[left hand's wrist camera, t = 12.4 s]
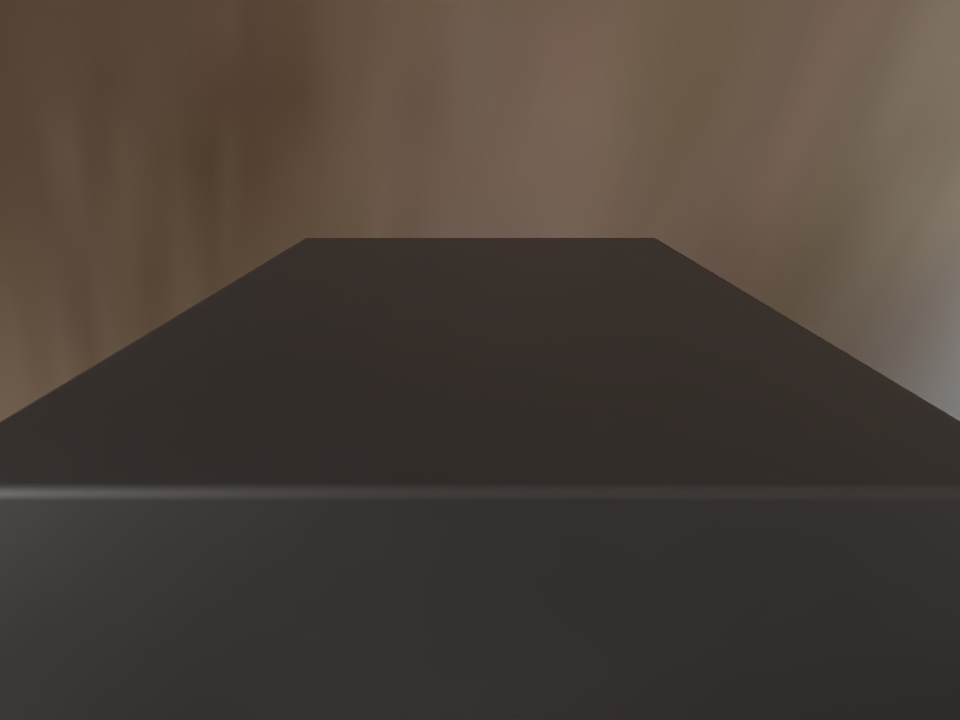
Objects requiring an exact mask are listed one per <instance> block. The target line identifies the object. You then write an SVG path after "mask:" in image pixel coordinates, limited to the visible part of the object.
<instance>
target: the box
mask: <svg viewBox="0 0 960 720" xmlns="http://www.w3.org/2000/svg"><path fill="white" fill-rule="evenodd" d="M0 720H960V421H958V420H957V419H955V418H953V417H952V416H950V415H948V414H947V413H945V412H943V411H942V410H940V409H938V408H937V407H935V406H933V405H932V404H930V403H928V402H927V401H925V400H923V399H922V398H920V397H918V396H917V395H915V394H913V393H912V392H910V391H908V390H907V389H905V388H903V387H902V386H900V385H898V384H897V383H895V382H893V381H892V380H890V379H888V378H887V377H885V376H883V375H882V374H880V373H879V372H877V371H875V370H874V369H872V368H870V367H869V366H867V365H865V364H864V363H862V362H860V361H859V360H857V359H855V358H854V357H852V356H850V355H849V354H847V353H845V352H844V351H842V350H840V349H839V348H837V347H835V346H834V345H832V344H830V343H829V342H827V341H825V340H824V339H822V338H820V337H819V336H817V335H815V334H814V333H812V332H810V331H809V330H807V329H805V328H804V327H802V326H800V325H799V324H797V323H795V322H794V321H792V320H790V319H789V318H787V317H785V316H784V315H782V314H780V313H779V312H777V311H775V310H774V309H772V308H770V307H769V306H767V305H765V304H764V303H762V302H760V301H759V300H757V299H755V298H754V297H752V296H750V295H749V294H747V293H745V292H744V291H742V290H740V289H739V288H737V287H735V286H734V285H732V284H730V283H729V282H727V281H725V280H724V279H722V278H721V277H719V276H717V275H716V274H714V273H712V272H711V271H709V270H707V269H706V268H704V267H702V266H701V265H699V264H697V263H696V262H694V261H692V260H691V259H689V258H687V257H686V256H684V255H682V254H681V253H679V252H677V251H676V250H674V249H672V248H671V247H669V246H667V245H666V244H664V243H662V242H661V241H659V240H657V239H655V238H306V239H304V240H302V241H300V242H299V243H297V244H295V245H294V246H292V247H290V248H289V249H287V250H285V251H284V252H282V253H280V254H279V255H277V256H275V257H274V258H272V259H270V260H269V261H267V262H265V263H264V264H262V265H260V266H259V267H257V268H255V269H254V270H252V271H250V272H249V273H247V274H245V275H244V276H242V277H240V278H239V279H237V280H235V281H234V282H232V283H230V284H229V285H227V286H225V287H224V288H222V289H220V290H219V291H217V292H215V293H214V294H212V295H210V296H209V297H207V298H205V299H204V300H202V301H200V302H199V303H197V304H195V305H194V306H192V307H190V308H189V309H187V310H185V311H184V312H182V313H180V314H179V315H177V316H175V317H174V318H172V319H170V320H169V321H167V322H165V323H164V324H162V325H160V326H159V327H157V328H155V329H154V330H152V331H150V332H149V333H147V334H145V335H144V336H142V337H140V338H139V339H137V340H135V341H134V342H132V343H130V344H129V345H127V346H125V347H124V348H122V349H120V350H119V351H117V352H115V353H114V354H112V355H110V356H109V357H107V358H105V359H104V360H102V361H100V362H99V363H97V364H95V365H94V366H92V367H90V368H89V369H87V370H85V371H84V372H82V373H80V374H79V375H77V376H75V377H74V378H72V379H70V380H69V381H67V382H65V383H64V384H62V385H60V386H59V387H57V388H55V389H54V390H52V391H51V392H49V393H47V394H46V395H44V396H42V397H41V398H39V399H37V400H36V401H34V402H32V403H31V404H29V405H27V406H26V407H24V408H22V409H21V410H19V411H17V412H16V413H14V414H12V415H11V416H9V417H7V418H6V419H4V420H2V421H1V422H0Z"/></svg>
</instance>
